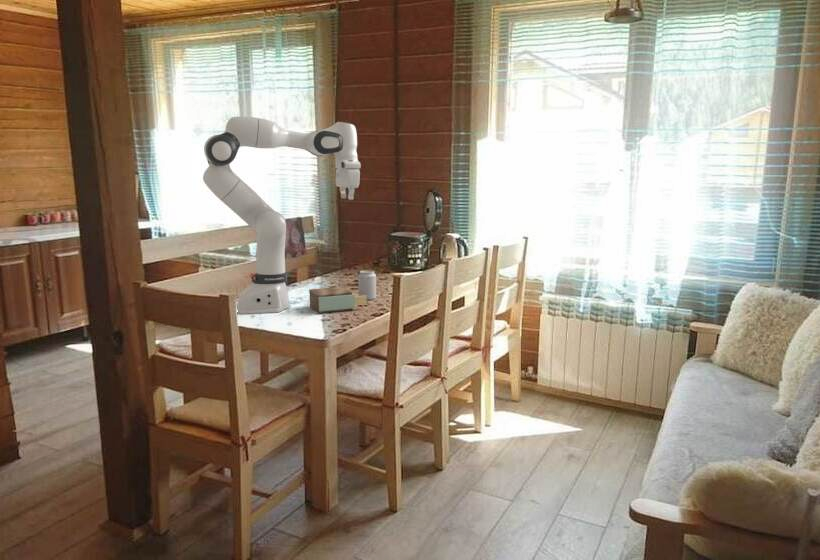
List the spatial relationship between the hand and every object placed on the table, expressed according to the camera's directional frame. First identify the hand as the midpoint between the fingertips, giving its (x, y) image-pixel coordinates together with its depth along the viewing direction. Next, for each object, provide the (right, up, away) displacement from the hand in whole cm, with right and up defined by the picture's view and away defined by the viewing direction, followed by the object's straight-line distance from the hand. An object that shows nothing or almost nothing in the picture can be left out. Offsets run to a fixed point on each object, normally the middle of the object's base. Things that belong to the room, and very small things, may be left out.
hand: (347, 198), depth 252 cm
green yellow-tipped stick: (-1, -44, -8) cm, 45 cm away
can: (+7, -41, +14) cm, 44 cm away
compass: (+5, -36, +42) cm, 55 cm away
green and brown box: (-6, -44, -3) cm, 44 cm away
